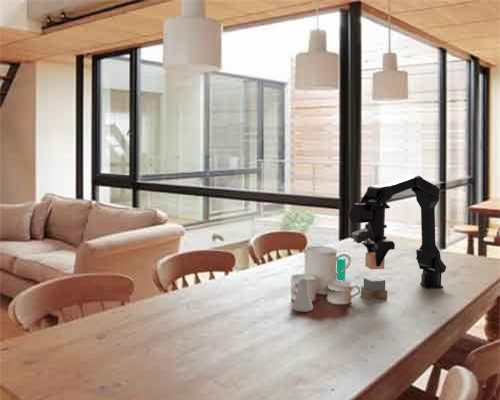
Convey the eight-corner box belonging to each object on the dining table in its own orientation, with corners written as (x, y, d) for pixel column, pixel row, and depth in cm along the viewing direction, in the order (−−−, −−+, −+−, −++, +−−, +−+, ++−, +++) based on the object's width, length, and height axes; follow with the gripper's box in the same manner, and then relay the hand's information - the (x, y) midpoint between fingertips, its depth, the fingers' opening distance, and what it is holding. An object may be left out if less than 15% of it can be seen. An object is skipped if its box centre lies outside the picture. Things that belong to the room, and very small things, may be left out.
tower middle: (376, 285, 199) (376, 276, 198) (385, 289, 194) (385, 280, 193) (363, 287, 197) (363, 277, 197) (371, 291, 192) (372, 281, 191)
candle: (346, 286, 210) (347, 255, 208) (330, 286, 210) (331, 255, 208) (343, 282, 216) (344, 252, 214) (328, 282, 216) (329, 252, 214)
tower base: (379, 294, 200) (379, 285, 200) (387, 300, 193) (387, 290, 193) (360, 295, 199) (361, 286, 198) (368, 301, 192) (368, 291, 192)
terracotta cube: (378, 265, 197) (378, 252, 197) (384, 268, 192) (384, 254, 192) (365, 266, 196) (365, 252, 196) (370, 269, 191) (371, 255, 191)
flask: (288, 310, 180) (288, 280, 179) (296, 304, 186) (297, 276, 185) (308, 313, 177) (309, 283, 176) (316, 307, 183) (317, 278, 182)
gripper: (345, 218, 200) (344, 259, 202) (365, 226, 182) (363, 271, 184) (373, 217, 202) (372, 258, 204) (396, 225, 184) (394, 270, 186)
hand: (374, 264), depth 194 cm, fingers closed on terracotta cube, 5 cm apart
